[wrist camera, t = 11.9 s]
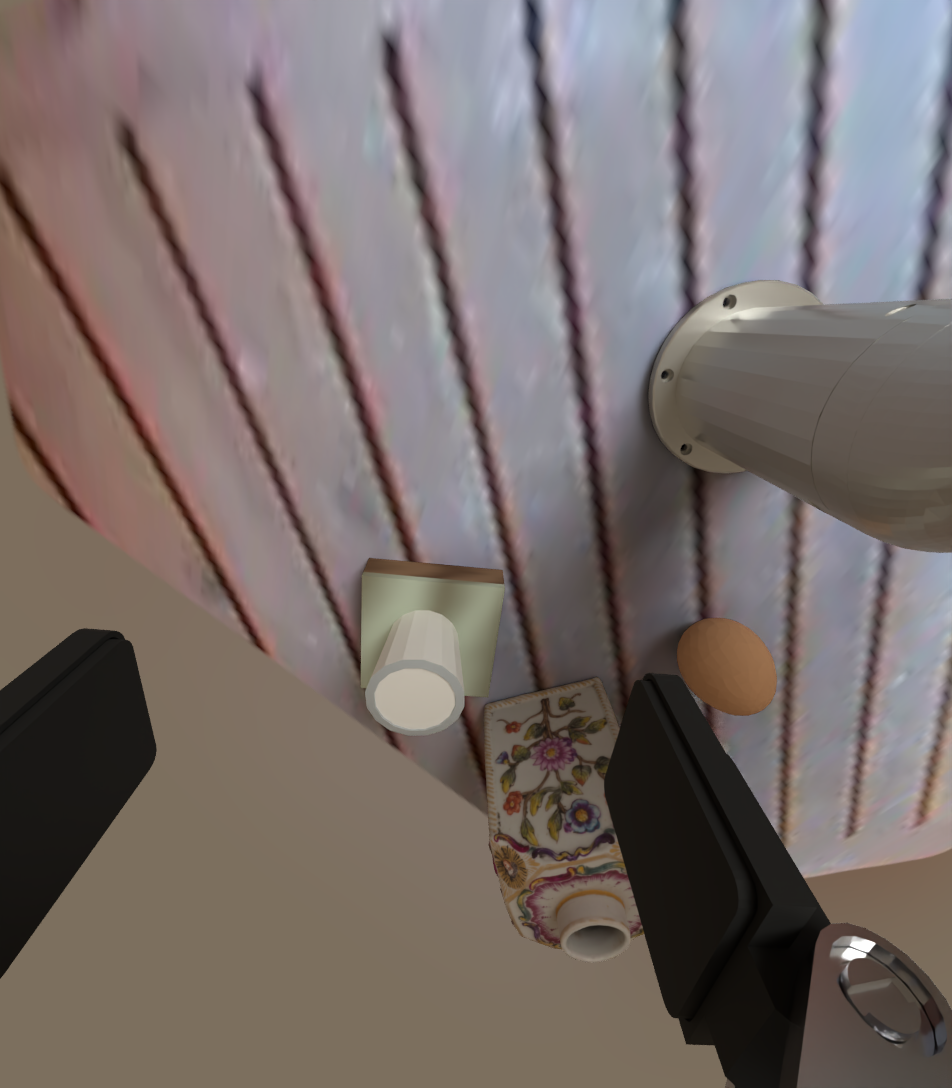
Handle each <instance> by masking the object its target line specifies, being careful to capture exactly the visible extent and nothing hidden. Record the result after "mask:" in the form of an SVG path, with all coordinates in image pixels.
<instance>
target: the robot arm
mask: <svg viewBox="0 0 952 1088" xmlns="http://www.w3.org/2000/svg"><path fill="white" fill-rule="evenodd" d="M724 299H726V305H725V306H724V307H723V300H724ZM663 371H665V372H666V375H665V377H664V378H661V374H662V372H663ZM648 398H649V412H650V416H651V419H652V423H653V426H654V429H655V431H656V433H657V435H658V436H659V438H660V440H661V442H662V443H663V444H664V445H665V446H666V448H667V449H668V450H669V451H670V452H671V453H672V454H673V455H675V456H676V457H677V458H679V459H680V460H681V461H683V462H685V463H687V464H688V465H690V466H692V467H694V468H697V469H700V470H703V471H706V472H712V473H722V474H726V473H738V472H743V471H749V472H751V473H753V474H755V475H757V476H758V477H760V478H762V479H764V480H766V481H768V482H769V483H771V484H773V485H775V486H777V487H779V488H781V489H782V490H784V491H786V492H788V493H790V494H792V495H793V496H795V497H797V498H799V499H801V500H803V501H804V502H806V503H808V504H810V505H812V506H814V507H816V508H817V509H819V510H821V511H823V512H825V513H827V514H829V515H831V516H833V517H834V518H836V519H838V520H840V521H842V522H844V523H846V524H848V525H850V526H852V527H854V528H855V529H857V530H859V531H861V532H863V533H865V534H867V535H869V536H871V537H873V538H876V539H878V540H880V541H883V542H885V543H888V544H891V545H895V546H898V547H901V548H905V549H911V550H917V551H925V552H936V553H951V552H952V299H937V300H915V301H893V302H871V303H849V304H826V305H824V304H823V303H822V302H821V301H820V300H819V299H818V298H816V297H815V296H814V295H813V294H812V293H811V292H809V291H807V290H805V289H803V288H801V287H800V286H798V285H795V284H791V283H787V282H783V281H779V280H758V281H751V282H744V283H741V284H737V285H734V286H730V287H727V288H724V289H722V290H720V291H718V292H717V293H715V294H713V295H711V296H709V297H707V298H706V299H704V300H703V301H701V302H700V303H699V304H697V305H696V306H695V307H693V308H692V309H691V310H690V311H689V312H688V313H687V314H686V315H685V316H684V317H683V318H682V319H681V320H680V321H679V322H678V323H677V324H676V325H675V327H674V328H673V330H672V331H671V333H670V334H669V335H668V337H667V338H666V340H665V341H664V343H663V345H662V347H661V349H660V351H659V353H658V356H657V358H656V360H655V363H654V367H653V370H652V374H651V377H650V385H649V394H648ZM682 445H684V448H683V449H681V450H680V448H681V446H682ZM155 756H156V743H155V739H154V735H153V731H152V726H151V722H150V718H149V713H148V709H147V705H146V701H145V696H144V692H143V688H142V683H141V679H140V675H139V671H138V666H137V662H136V658H135V653H134V650H133V646H132V644H131V642H130V641H128V640H125V638H124V636H123V635H122V634H121V633H120V632H117V631H110V630H97V629H79V630H77V631H76V632H74V633H72V634H71V635H70V636H69V637H67V638H66V639H65V640H64V641H62V642H61V643H60V644H59V645H57V646H56V647H55V648H53V649H52V650H51V651H50V652H48V653H47V654H46V655H45V656H44V657H42V658H41V659H40V660H38V661H37V662H36V663H34V664H33V665H32V666H31V667H30V668H28V669H27V670H26V671H24V672H23V673H22V674H21V675H19V676H18V677H17V678H16V679H14V680H13V681H12V682H10V683H9V684H8V685H7V686H5V687H4V688H3V689H2V690H0V978H1V977H2V976H3V975H4V973H5V972H6V971H7V969H8V968H9V966H10V965H11V963H12V962H13V961H14V959H15V958H16V956H17V955H18V954H19V952H20V951H21V949H22V948H23V947H24V945H25V944H26V942H27V941H28V940H29V938H30V937H31V935H32V934H33V933H34V931H35V930H36V928H37V927H38V926H39V924H40V923H41V921H42V920H43V919H44V917H45V916H46V914H47V913H48V912H49V910H50V909H51V907H52V906H53V904H54V903H55V902H56V900H57V899H58V898H59V896H60V895H61V893H62V892H63V891H64V889H65V887H66V886H67V885H68V883H69V882H70V881H71V879H72V878H73V876H74V875H75V874H76V872H77V871H78V869H79V868H80V867H81V865H82V864H83V862H84V861H85V860H86V858H87V857H88V855H89V854H90V853H91V851H92V850H93V848H94V847H95V846H96V844H97V842H98V841H99V840H100V839H101V837H102V836H103V834H104V833H105V831H106V830H107V829H108V827H109V826H110V824H111V823H112V821H113V820H114V819H115V817H116V816H117V815H118V813H119V812H120V810H121V809H122V808H123V806H124V805H125V803H126V802H127V800H128V799H129V798H130V796H131V795H132V794H133V792H134V791H135V789H136V788H137V787H138V785H139V784H140V782H141V781H142V779H143V778H144V776H145V775H146V774H147V772H148V771H149V770H150V768H151V766H152V764H153V762H154V760H155ZM604 792H605V798H606V801H607V805H608V808H609V812H610V815H611V819H612V822H613V826H614V829H615V833H616V836H617V840H618V843H619V847H620V850H621V854H622V857H623V861H624V864H625V868H626V871H627V875H628V878H629V882H630V885H631V889H632V892H633V896H634V899H635V903H636V906H637V910H638V913H639V917H640V920H641V924H642V927H643V931H644V934H645V938H646V941H647V945H648V948H649V951H650V955H651V959H652V962H653V965H654V969H655V973H656V976H657V980H658V983H659V987H660V990H661V994H662V997H663V1000H664V1003H665V1006H666V1008H667V1010H668V1013H669V1014H670V1015H671V1016H672V1017H673V1018H679V1021H680V1025H681V1028H682V1031H683V1035H684V1038H685V1041H686V1044H693V1045H715V1048H716V1050H717V1054H718V1056H719V1059H720V1062H721V1065H722V1068H723V1071H724V1074H725V1076H726V1077H727V1082H726V1086H725V1088H952V1010H951V1008H950V1006H949V1004H948V1002H947V1000H946V999H945V997H944V996H943V995H942V993H941V992H940V991H939V989H938V988H937V987H936V985H935V984H934V983H933V981H932V980H931V979H930V978H929V976H928V975H927V974H926V973H925V972H924V971H923V970H922V969H921V968H920V967H919V966H918V965H917V964H916V963H915V962H914V961H913V960H912V959H911V958H910V957H909V956H908V955H907V954H905V953H904V952H903V951H901V950H900V949H899V948H897V947H896V946H894V945H893V944H892V943H890V942H889V941H888V940H886V939H885V938H883V937H881V936H879V935H878V934H876V933H874V932H872V931H870V930H868V929H866V928H863V927H860V926H856V925H853V924H849V923H833V924H831V923H830V922H829V920H828V918H827V917H826V915H825V913H824V912H823V910H822V909H821V907H820V905H819V903H818V902H817V900H816V898H815V897H814V895H813V893H812V892H811V890H810V888H809V887H808V885H807V883H806V882H805V880H804V878H803V877H802V875H801V873H800V872H799V870H798V868H797V867H796V865H795V863H794V862H793V860H792V858H791V857H790V855H789V853H788V852H787V850H786V848H785V847H784V845H783V843H782V842H781V840H780V838H779V837H778V835H777V833H776V832H775V830H774V828H773V827H772V825H771V823H770V822H769V820H768V818H767V817H766V815H765V813H764V812H763V810H762V808H761V807H760V805H759V803H758V802H757V800H756V798H755V797H754V795H753V793H752V792H751V790H750V788H749V787H748V785H747V783H746V782H745V780H744V778H743V777H742V775H741V773H740V772H739V770H738V768H737V767H736V765H735V763H734V762H733V761H732V759H731V758H730V757H729V755H727V754H726V753H725V751H724V749H723V748H722V746H721V744H720V742H719V741H718V739H717V737H716V736H715V734H714V732H713V731H712V729H711V727H710V726H709V724H708V722H707V721H706V719H705V717H704V716H703V714H702V712H701V710H700V709H699V707H698V705H697V704H696V702H695V700H694V699H693V697H692V695H691V694H690V692H689V690H688V689H687V687H686V685H685V684H684V682H683V680H682V679H681V678H680V677H679V676H677V675H666V674H654V673H648V674H646V675H645V676H644V678H643V680H637V681H636V682H635V683H634V685H633V688H632V692H631V695H630V698H629V701H628V704H627V708H626V711H625V714H624V717H623V720H622V723H621V727H620V730H619V733H618V736H617V739H616V743H615V746H614V749H613V752H612V755H611V758H610V762H609V765H608V768H607V771H606V774H605V779H604Z"/></svg>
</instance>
